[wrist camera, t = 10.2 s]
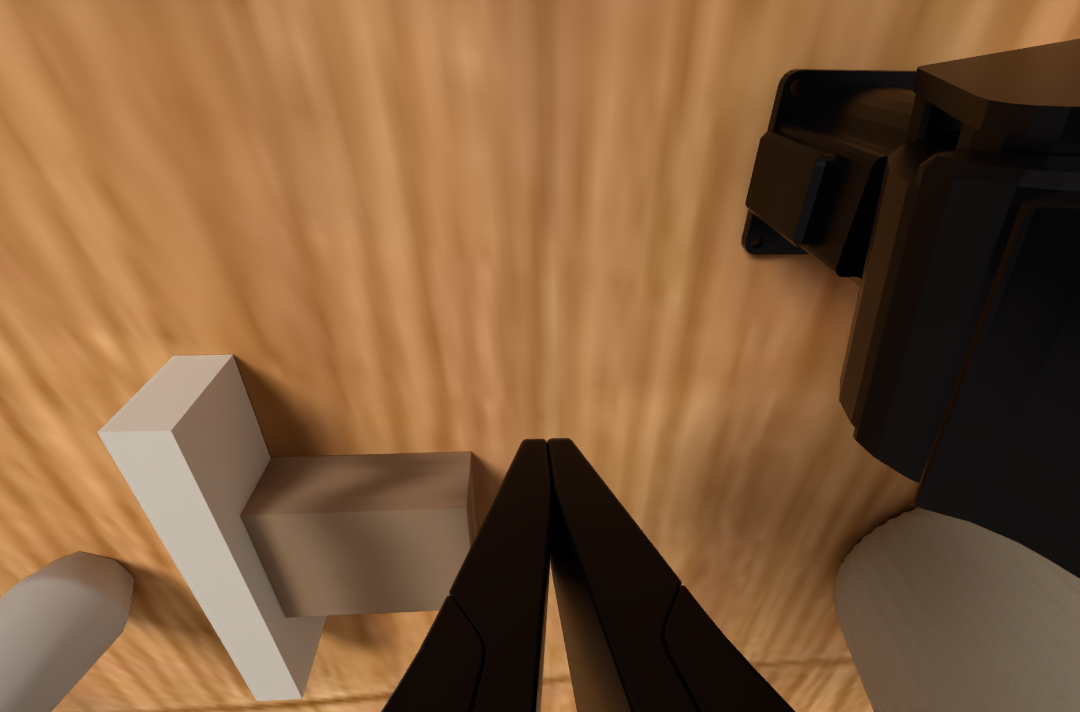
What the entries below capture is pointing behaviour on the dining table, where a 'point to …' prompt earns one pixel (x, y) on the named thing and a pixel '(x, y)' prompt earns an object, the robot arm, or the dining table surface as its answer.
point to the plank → (212, 511)
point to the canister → (958, 620)
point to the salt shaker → (59, 628)
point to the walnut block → (363, 530)
